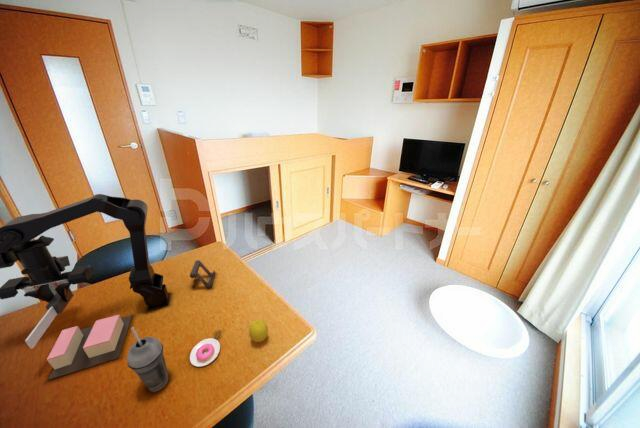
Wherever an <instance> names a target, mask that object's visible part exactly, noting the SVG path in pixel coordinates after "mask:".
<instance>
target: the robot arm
mask: <svg viewBox="0 0 640 428" xmlns="http://www.w3.org/2000/svg"><path fill="white" fill-rule="evenodd" d="M148 208H149V207H148V204H147V203H146V202H144V201H143V200H141V199H136V198H135V199H130V198H126V197H121V196H111V195H108V194H103V193H97V194H94V195H93V196H91V197H88V198H85V199H81V200H79V201H76V202H73V203H70V204H67V205H64V206H61V207H59V208H56V209H52V210H49V211H47V212H42V213H30V214H26V215H20V216H15V217H13V218H12V219H10V220H9V221H7V222H6V223H5V224H3V225H1V227H0V269H5V268H6V269H7V268H11V267H13V266H14V265H15V263H17V262H19V264H20V265H21V267H22V270H21V271H20V274H21V275H22V276H21V277H16V278H15V277H14V278H10V279H7V281H6V282H4V284H3V285H2V286H0V300H6V299H10V298H15V297H16V296H17V295H18V294H19V291H18V290H22V291H23V292H24V293H23V296H24V297H25V298H26V297H29V298H30V297H31V298H34V299H38V300H40V301H43V302H46V303H47V304H48V303H49V302H50V300H51V299H52V298H53V297H54V295H55V294H54V293H53V291H52V290H51V288H50V284H54V283H57V286H56V287H55V288H54V291H55V293H58V294H59V295H60V297H61V298H62V299H63V300H64V301H65V302H68V300H69V288H70V287H71V285H72V286H73V285H74V286H75V285H78V284H83V283H86V282H88V281H89V280H90V278H91V276H92V275H93V273H94V272H95V269H94V268H93V266H92V265H90V264H85V265H79V266H74V267H73V268H72V270H71V271H66V267H69V266H71V262H70V259H69V255H64V256H55V255H53V256H52V254H51V252H50V250H49V249H48V247H49V246H50V245H51V244H52V243H53V242H54V241H55V238H54V237H50V236H45V235H43V234H44V233H45V232H47V231H49V230H50V229H53V228H56V227H58V226H61V225H64V224H67V223H70V222H72V221H76V220H78V219H80V218H84V217H86V216H88V215H91V214H94V213H102V214H103V215H107V216H109V217H111V218H114V219H117V220H121V221H122V223H123V225H124V227H125V229H126V230H127V231H128V233H129V239H130V245H131V252H132V259H133V266H134V267H131V269H130V272H129V276H128V282H129V284H130V285H129V289H130V290H131V289H132V291H133V293H135V294H139V295H140V296H141V297H142V300H143V302H144V304H145V306H146V307H147V308H146V311H153V310H156V309H160V308H163V307H168V306H169V303H170V297H171V292H168V289H167V285H166V284H165V283H164V275H162V274H159V273H156V272H155V270H154V267H153V266H152V264H151V263H150V259H149V257H150V256H149V250H148V241H147V233H146V232H147V231H146V224H147V216H148ZM38 236H39V237H38ZM37 237H38V238H37ZM24 275H27V276H24ZM70 289H71V288H70Z"/></svg>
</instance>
